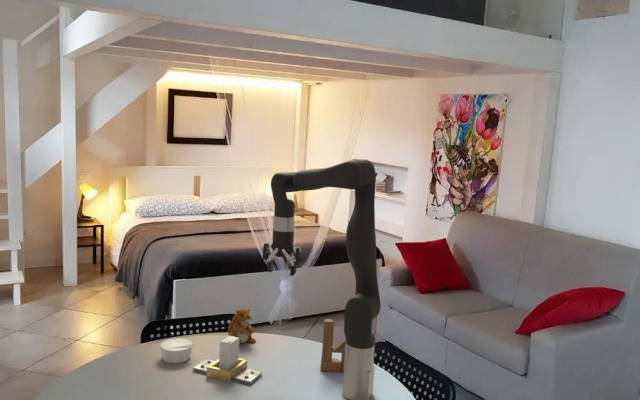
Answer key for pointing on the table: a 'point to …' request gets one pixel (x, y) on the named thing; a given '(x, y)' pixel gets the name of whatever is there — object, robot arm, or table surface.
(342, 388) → the robot arm
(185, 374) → the table surface
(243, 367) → the square socket fixture
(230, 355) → the skincare box
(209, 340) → the table surface
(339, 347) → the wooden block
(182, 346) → the ramekin
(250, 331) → the stuffed squirrel
